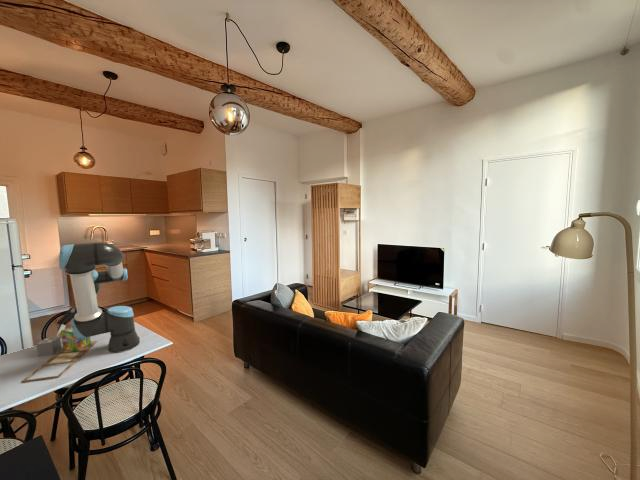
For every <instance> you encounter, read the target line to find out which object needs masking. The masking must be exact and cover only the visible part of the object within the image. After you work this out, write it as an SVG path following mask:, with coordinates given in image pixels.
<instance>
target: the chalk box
mask: <svg viewBox="0 0 640 480" xmlns="http://www.w3.org/2000/svg"><path fill="white" fill-rule="evenodd" d="M91 341H92V340H91V337H88V338H81V339H79V338H76V337H75V335H74V333H73V330H72V326H69V327H67V328H65V329H64V330H61V346H62V349H63V350H68V351H73V352H75V351H77V350H79V349H81V348H84V347H86V346H88V345H90V344H91Z"/></svg>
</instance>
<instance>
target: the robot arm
mask: <svg viewBox="0 0 640 480" xmlns="http://www.w3.org/2000/svg"><path fill="white" fill-rule="evenodd" d="M58 254H59V255H58V256H59V257H58V266H59V269H60V270H64V273H65V274H67V275H69V277H70V282H71V287H72V293H73V297H74V301H75V308H72V307H70V308H69V309H68V311H67V312H66V313H65V314H63V316H62V317H60V319H59V320H58V321H57V322H56V324H57V325H59V326H58V329H57V331H58V332H57V333H56V337H60V338H62V336H61V330H64V329H66V327H67V326H66V325H67V324H68V323H70V322H71V326H70V327H72V330H73V333H74V335H75V337H76V338H79V339H81V338H88V337H90V338H91V337H95V336H98V335H99V336H100V335H102V334H103V335H104V334H108V333H109V334H110V337H109V341H108V345H107V351H109V352H110V353H121V352H126V351H129V350H132V349H134V348H136V347H137V346H138V345H140V342H141V341H140V336H138V333H137V331H136V326H135V317H134V316H135V314H134V311H133V310H134V309H133V307H131V306H127V305H117V306H116V305H115V306H112V307H109V308H108V309H107V311H104V312H103V310H102V309H101V308H100V307H99V305H98V299H97V297H98V294H99V292H100V290H101V287H102V285H103V284H108V283H114V282H123V281H127V280H128V278H129V277H128V269H127V268H124V266H123V261H124V252H123V251H122V250H121V249H120V248H119V247H117V246H115V245H114V244H111V243H108V242H100V241H98V242H87V243H72V244H64V245H62V246H61V247H60V249H59V253H58ZM104 265H105V267H106V270H100V271H97V270H96V266H104Z"/></svg>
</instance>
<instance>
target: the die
mask: <svg viewBox="0 0 640 480" xmlns="http://www.w3.org/2000/svg"><path fill="white" fill-rule="evenodd" d="M35 345H36V352H37V357H40V356H41V357H43V356H51V354H52V355H55V354H57V353H58V352H59V351H61V350H62V349H63V345H62V338H61V337H58V336H53V337H51V336H50V337H45V338H43V339H42V340H40V341H39V342H37V343H36V344H35ZM54 353H55V354H54ZM42 355H43V356H42Z"/></svg>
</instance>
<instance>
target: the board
mask: <svg viewBox="0 0 640 480" xmlns="http://www.w3.org/2000/svg"><path fill="white" fill-rule="evenodd" d="M98 342H99V341H98V340H91V344H90V345H88V346H86V347H84V348H81V349H79V350H77V351H75V352H73V351H68V350H63V348H61V349H60V350H58V351H57V352H56V353H55V354H53V355H52V357H50V358H49V359H48V360H47V361H45V362H44V363H42V365H40V366H39V367H38V368H36V369H35V370H33V372H31V373H30V374H29V375H27V376H26V377H25V378H24V379H22V380H21V384H22V383H30V382H37V381H39V382H40V381H45V380H52V379H59V378H61V376H63V374H64V373H66V372H67V371H68V370H69V369H70V368H71V367H72V366H73V365H74V364H76V363H77V362H78V361H79V360H80V359H81V358H82V357H83V356H84V355H86V353H87V352H89V351H90V350H91V349H92V348H93V347H94V346H95V345H96V344H97V343H98ZM62 364H63V365H64V364H69V365H68V366H67V367H65V368H64V369H63V370H62V371H61V372H59V374H58V375H53V376H45V377H39V378H31V377H33V376H34V375H35V374H36V373H37V372H39V371H40V370H41V369H43V368H44V367H46V366H53V365H62Z"/></svg>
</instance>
